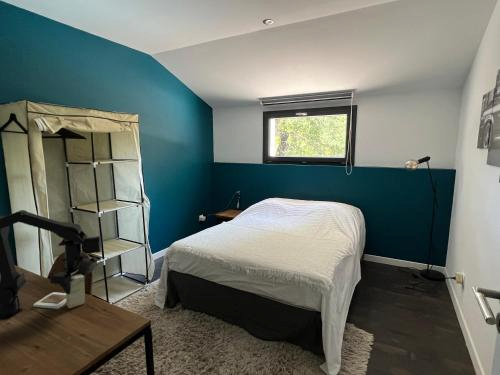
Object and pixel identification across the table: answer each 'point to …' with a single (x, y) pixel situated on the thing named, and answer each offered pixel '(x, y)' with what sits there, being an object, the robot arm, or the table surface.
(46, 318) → the table surface
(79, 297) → the skincare box
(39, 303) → the white square tray
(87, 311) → the table surface
